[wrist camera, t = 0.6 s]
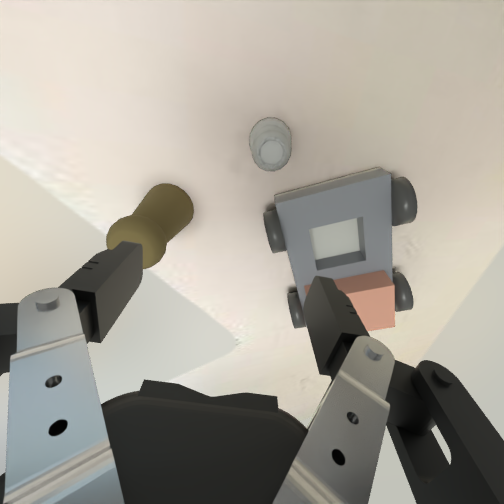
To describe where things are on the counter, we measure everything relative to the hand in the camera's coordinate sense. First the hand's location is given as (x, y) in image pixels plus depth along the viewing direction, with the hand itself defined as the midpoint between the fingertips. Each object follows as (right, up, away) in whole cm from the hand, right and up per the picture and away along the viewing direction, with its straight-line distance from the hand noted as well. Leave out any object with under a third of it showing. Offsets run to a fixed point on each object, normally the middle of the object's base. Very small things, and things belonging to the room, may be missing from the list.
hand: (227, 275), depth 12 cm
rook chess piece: (+3, +13, +15) cm, 21 cm away
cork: (-9, +7, +20) cm, 23 cm away
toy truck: (+12, +1, +22) cm, 25 cm away
